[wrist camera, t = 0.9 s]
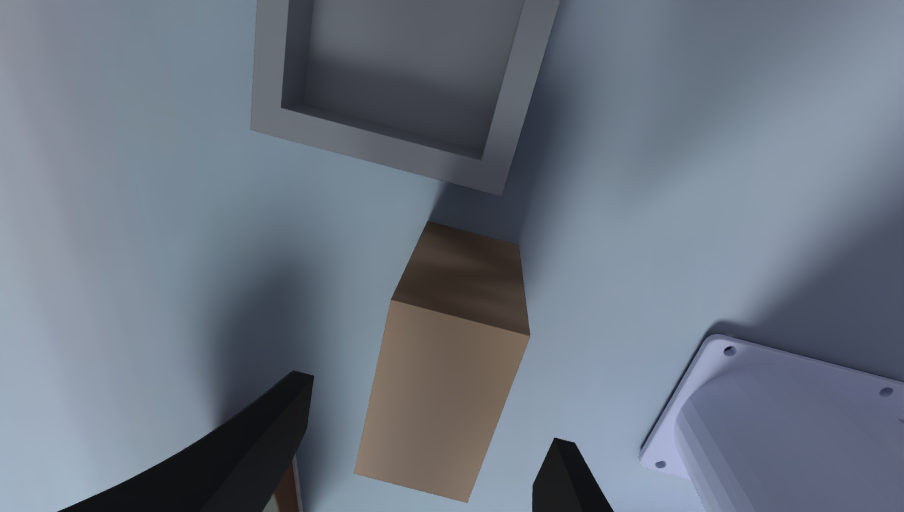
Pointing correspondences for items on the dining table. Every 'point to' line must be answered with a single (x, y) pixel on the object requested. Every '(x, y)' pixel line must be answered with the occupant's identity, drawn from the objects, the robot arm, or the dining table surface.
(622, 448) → the dining table surface
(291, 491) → the food container
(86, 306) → the dining table surface
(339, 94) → the grey shallow tray
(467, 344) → the brown block
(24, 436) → the dining table surface
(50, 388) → the dining table surface
